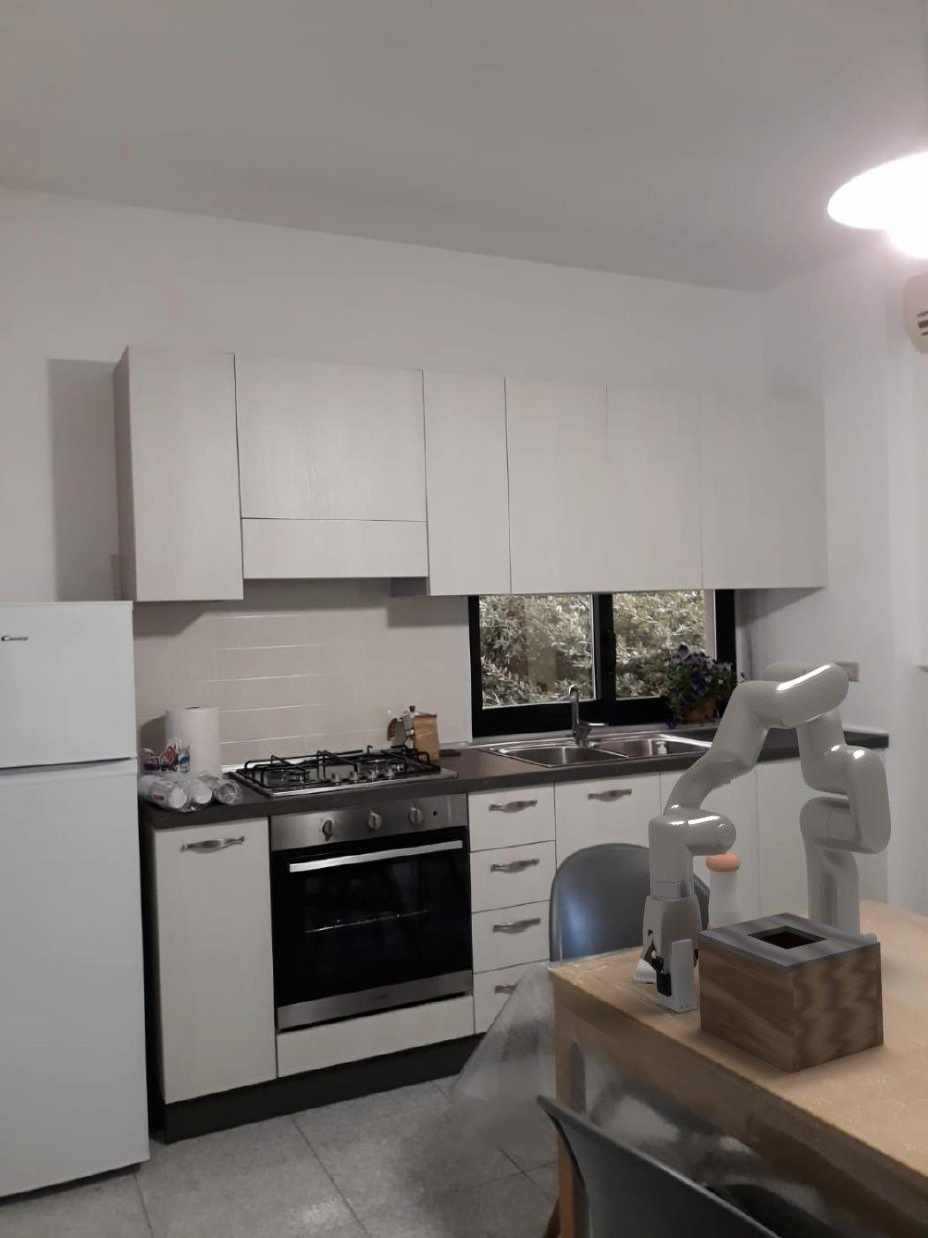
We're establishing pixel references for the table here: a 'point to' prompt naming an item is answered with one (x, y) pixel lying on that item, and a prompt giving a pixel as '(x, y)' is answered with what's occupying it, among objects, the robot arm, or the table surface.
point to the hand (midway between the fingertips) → (675, 990)
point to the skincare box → (681, 978)
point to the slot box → (791, 989)
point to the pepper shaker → (723, 890)
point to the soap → (644, 973)
